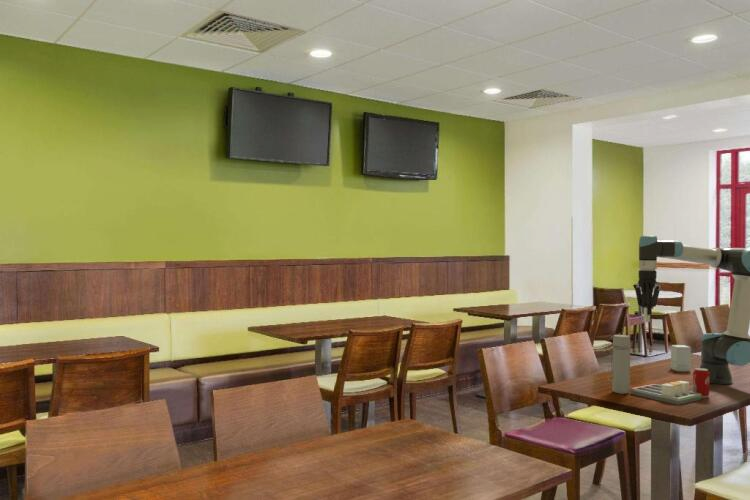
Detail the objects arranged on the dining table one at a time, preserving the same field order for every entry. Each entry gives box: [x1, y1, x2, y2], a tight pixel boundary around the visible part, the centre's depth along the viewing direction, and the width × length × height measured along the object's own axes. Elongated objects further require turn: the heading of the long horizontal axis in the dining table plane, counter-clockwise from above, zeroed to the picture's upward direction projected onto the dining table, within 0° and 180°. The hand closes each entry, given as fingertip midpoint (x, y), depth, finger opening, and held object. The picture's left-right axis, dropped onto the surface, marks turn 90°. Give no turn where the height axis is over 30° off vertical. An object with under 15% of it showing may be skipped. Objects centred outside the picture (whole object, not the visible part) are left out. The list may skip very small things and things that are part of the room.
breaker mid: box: [667, 381, 682, 396], centre depth 276 cm, size 4×4×5 cm
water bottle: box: [607, 334, 631, 395], centre depth 287 cm, size 9×8×25 cm
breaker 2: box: [675, 380, 691, 394], centre depth 279 cm, size 4×4×5 cm
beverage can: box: [692, 367, 710, 399], centre depth 280 cm, size 6×6×12 cm
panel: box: [630, 383, 702, 406], centre depth 280 cm, size 17×22×2 cm
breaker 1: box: [660, 383, 676, 397], centre depth 273 cm, size 4×4×5 cm
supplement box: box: [670, 344, 692, 372], centre depth 339 cm, size 7×7×13 cm
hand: (646, 321), depth 294 cm, fingers closed
